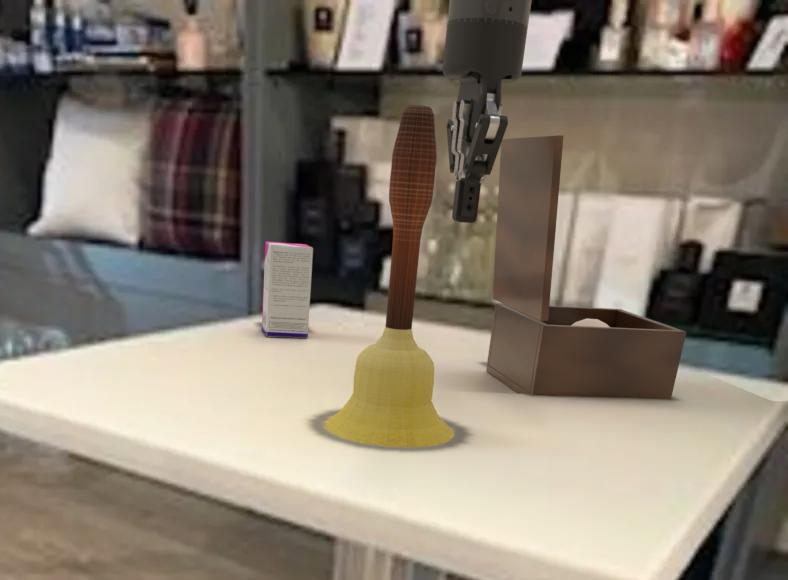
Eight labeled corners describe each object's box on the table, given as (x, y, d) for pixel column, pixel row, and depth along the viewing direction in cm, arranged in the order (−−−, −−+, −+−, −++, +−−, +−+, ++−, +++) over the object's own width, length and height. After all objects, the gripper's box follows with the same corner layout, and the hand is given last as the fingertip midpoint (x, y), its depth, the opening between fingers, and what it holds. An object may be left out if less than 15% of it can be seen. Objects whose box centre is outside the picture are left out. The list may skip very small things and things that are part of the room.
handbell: (432, 469, 68) (475, 101, 57) (292, 441, 72) (306, 95, 61) (477, 434, 78) (521, 116, 67) (352, 412, 83) (374, 110, 72)
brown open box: (607, 375, 107) (620, 308, 104) (669, 406, 94) (686, 331, 90) (485, 371, 105) (495, 303, 101) (531, 403, 91) (543, 325, 88)
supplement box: (309, 338, 117) (313, 246, 112) (265, 337, 116) (267, 244, 111) (303, 331, 122) (306, 242, 117) (260, 329, 121) (262, 240, 116)
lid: (508, 138, 94) (501, 138, 94) (563, 135, 80) (555, 135, 80) (499, 298, 101) (492, 299, 101) (548, 320, 87) (540, 321, 87)
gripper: (551, 14, 76) (520, 228, 84) (503, 33, 88) (479, 220, 96) (469, 5, 75) (445, 223, 83) (431, 26, 87) (413, 215, 95)
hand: (463, 221), depth 89 cm, fingers closed
